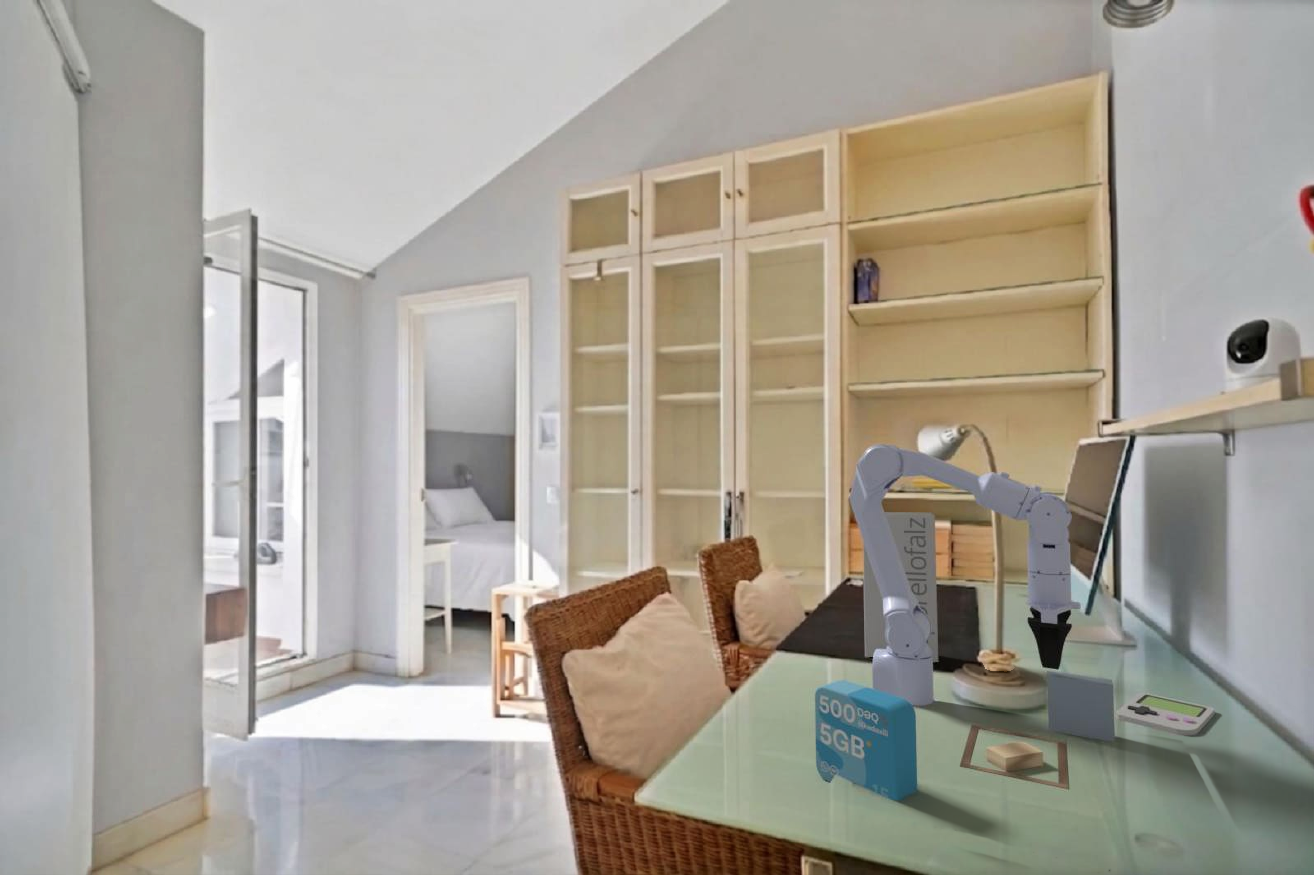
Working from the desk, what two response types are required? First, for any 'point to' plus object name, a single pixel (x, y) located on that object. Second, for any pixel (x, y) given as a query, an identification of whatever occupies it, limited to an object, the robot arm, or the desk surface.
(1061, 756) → the walnut frame
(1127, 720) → the handheld gaming console
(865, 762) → the data package
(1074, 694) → the slate sheet
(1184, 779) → the desk surface
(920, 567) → the grey lettered box
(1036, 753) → the upper offcut
